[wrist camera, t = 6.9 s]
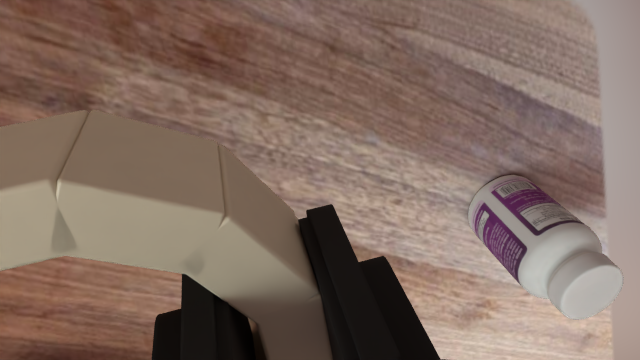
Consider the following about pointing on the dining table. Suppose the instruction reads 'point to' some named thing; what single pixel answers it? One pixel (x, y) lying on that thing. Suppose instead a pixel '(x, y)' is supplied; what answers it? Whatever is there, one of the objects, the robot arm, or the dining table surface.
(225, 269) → the tape roll
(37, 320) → the dining table surface
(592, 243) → the pill bottle
